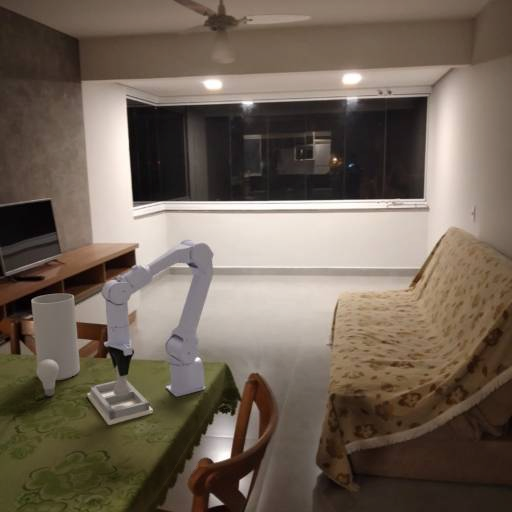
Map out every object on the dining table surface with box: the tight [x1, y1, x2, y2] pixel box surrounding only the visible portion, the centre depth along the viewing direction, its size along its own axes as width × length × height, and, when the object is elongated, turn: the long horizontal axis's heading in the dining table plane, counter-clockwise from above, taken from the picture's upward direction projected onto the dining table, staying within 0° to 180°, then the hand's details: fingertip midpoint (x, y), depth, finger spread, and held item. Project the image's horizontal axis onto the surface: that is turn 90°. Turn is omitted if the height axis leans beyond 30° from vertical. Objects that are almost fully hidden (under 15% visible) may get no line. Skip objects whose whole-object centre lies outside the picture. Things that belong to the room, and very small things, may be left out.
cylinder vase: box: [31, 293, 81, 382], centre depth 168 cm, size 12×12×25 cm
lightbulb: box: [36, 359, 59, 397], centre depth 153 cm, size 6×6×11 cm
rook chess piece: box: [114, 365, 130, 396], centre depth 145 cm, size 4×4×8 cm
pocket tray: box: [87, 380, 154, 426], centre depth 147 cm, size 12×21×3 cm, turn 32°
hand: (121, 372), depth 144 cm, fingers closed on rook chess piece, 3 cm apart
